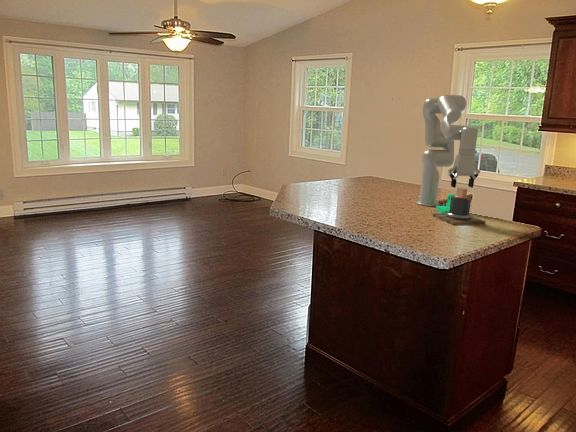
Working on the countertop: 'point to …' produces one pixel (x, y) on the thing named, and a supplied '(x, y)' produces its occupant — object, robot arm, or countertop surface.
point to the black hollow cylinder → (459, 209)
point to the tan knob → (461, 193)
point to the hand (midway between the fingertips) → (461, 186)
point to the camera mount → (446, 208)
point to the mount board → (453, 221)
